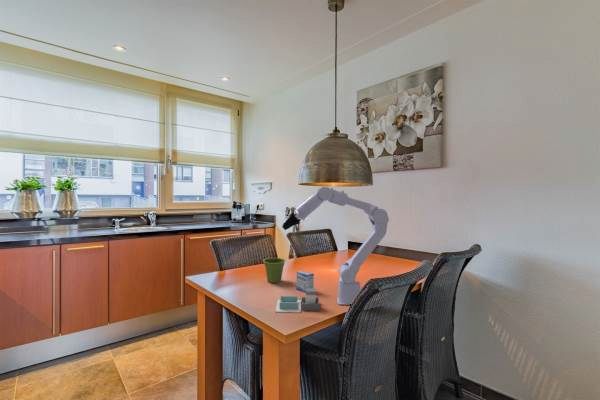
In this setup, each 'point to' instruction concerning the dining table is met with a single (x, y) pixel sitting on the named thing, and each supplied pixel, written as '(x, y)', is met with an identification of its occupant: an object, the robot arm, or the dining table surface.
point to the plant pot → (274, 269)
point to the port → (289, 304)
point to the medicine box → (304, 280)
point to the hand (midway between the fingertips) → (283, 227)
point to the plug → (310, 295)
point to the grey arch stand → (310, 304)
